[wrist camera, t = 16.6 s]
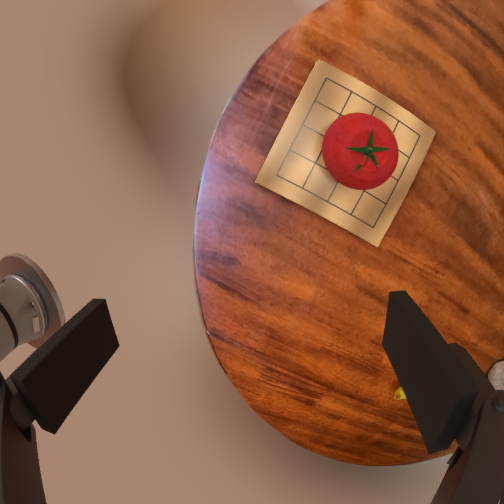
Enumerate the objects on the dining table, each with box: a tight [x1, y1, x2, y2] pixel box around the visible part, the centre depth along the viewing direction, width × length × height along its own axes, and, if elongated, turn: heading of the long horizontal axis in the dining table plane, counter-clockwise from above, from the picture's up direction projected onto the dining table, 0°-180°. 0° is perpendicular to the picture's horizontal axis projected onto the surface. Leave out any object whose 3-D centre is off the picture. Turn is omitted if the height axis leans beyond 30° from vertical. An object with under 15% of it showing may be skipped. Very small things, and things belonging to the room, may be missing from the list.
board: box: [255, 59, 436, 247], centre depth 34 cm, size 18×18×1 cm
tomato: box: [322, 112, 399, 190], centre depth 30 cm, size 9×9×8 cm
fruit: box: [394, 387, 407, 400], centre depth 43 cm, size 10×2×5 cm, turn 63°
